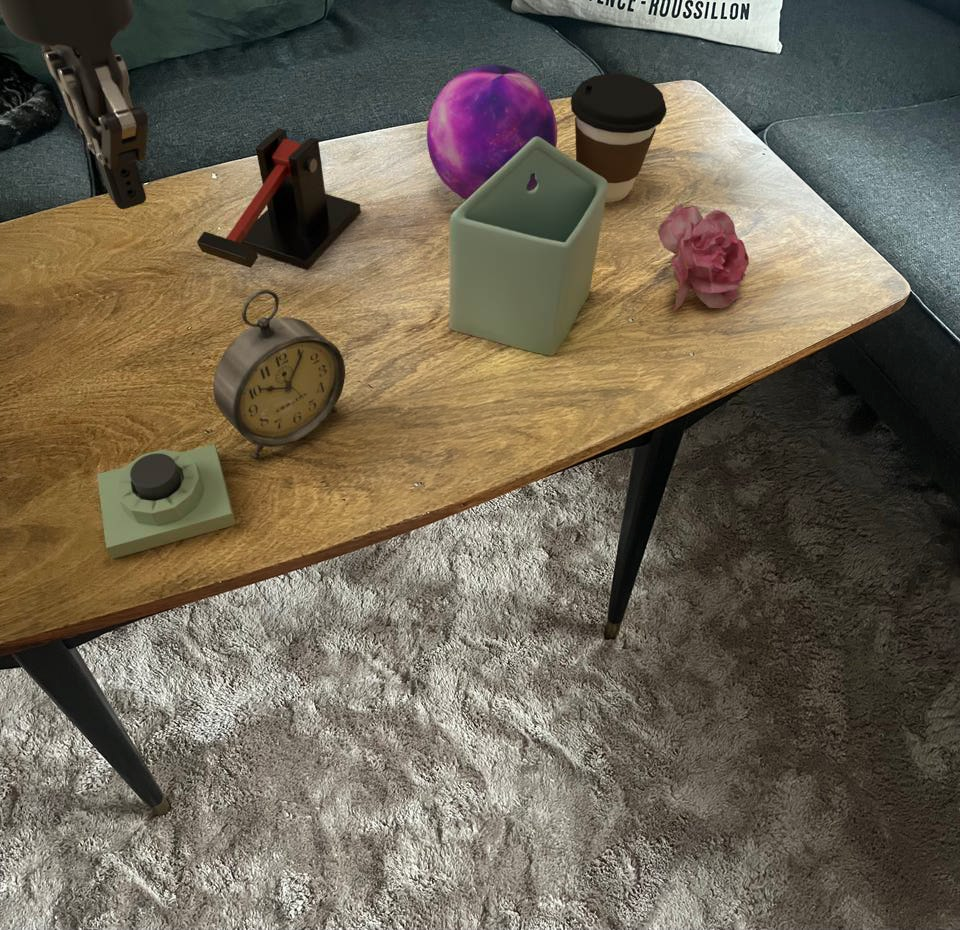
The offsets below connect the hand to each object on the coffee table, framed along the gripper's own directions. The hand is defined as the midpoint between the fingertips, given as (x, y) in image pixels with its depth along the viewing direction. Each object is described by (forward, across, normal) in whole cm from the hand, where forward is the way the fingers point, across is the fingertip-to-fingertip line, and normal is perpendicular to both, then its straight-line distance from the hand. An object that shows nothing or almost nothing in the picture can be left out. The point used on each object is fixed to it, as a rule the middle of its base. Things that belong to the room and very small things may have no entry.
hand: (129, 201), depth 61 cm
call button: (+19, +9, -7) cm, 22 cm away
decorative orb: (+21, -12, +44) cm, 51 cm away
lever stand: (+21, -19, +22) cm, 36 cm away
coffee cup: (+21, -5, +57) cm, 61 cm away
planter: (+22, +10, +33) cm, 41 cm away
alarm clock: (+22, +7, +6) cm, 24 cm away
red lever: (+15, -16, +17) cm, 28 cm away
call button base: (+22, +9, -7) cm, 25 cm away
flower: (+21, +15, +52) cm, 58 cm away
